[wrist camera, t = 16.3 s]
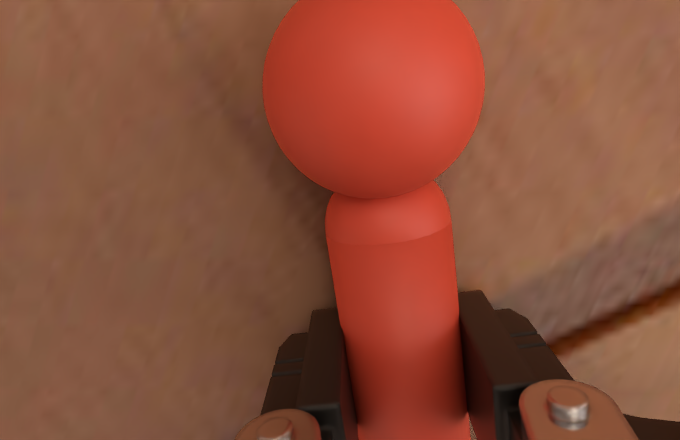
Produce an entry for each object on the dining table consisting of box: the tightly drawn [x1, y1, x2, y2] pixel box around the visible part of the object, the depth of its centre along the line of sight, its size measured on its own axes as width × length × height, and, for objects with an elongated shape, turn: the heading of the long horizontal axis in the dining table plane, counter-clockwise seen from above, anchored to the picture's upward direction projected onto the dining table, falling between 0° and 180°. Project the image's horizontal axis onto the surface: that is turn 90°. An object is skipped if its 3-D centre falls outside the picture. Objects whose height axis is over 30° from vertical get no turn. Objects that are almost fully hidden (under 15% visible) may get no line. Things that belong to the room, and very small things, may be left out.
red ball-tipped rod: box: [263, 0, 485, 440], centre depth 9 cm, size 12×4×4 cm, turn 8°
